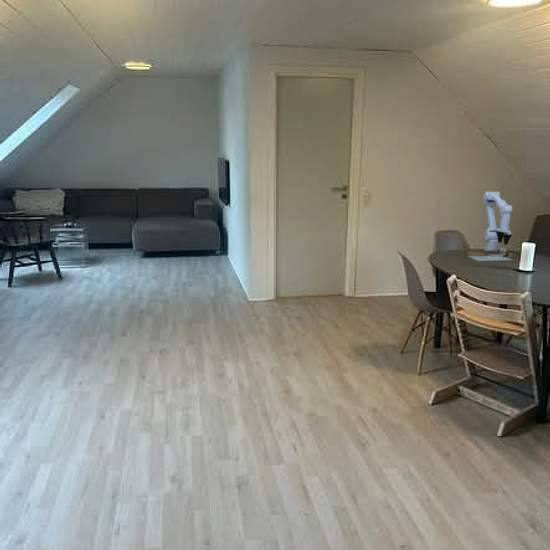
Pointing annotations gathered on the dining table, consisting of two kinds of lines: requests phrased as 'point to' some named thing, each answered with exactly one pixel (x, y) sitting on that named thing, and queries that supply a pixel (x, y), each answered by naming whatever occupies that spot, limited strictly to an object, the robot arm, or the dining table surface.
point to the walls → (486, 252)
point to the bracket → (501, 255)
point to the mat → (488, 258)
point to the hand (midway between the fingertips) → (502, 243)
